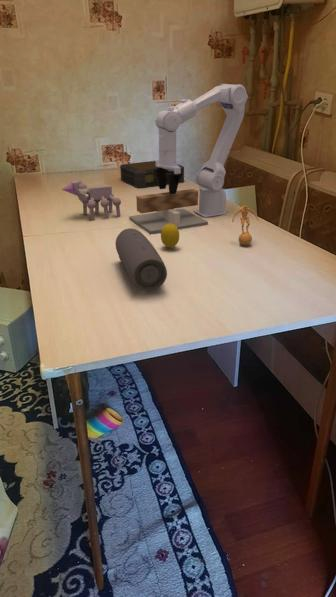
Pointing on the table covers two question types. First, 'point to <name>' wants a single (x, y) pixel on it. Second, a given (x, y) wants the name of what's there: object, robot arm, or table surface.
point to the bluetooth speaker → (140, 260)
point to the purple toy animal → (94, 197)
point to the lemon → (170, 235)
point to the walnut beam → (167, 201)
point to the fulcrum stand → (167, 220)
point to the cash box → (142, 174)
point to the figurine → (245, 236)
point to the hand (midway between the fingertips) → (167, 191)
